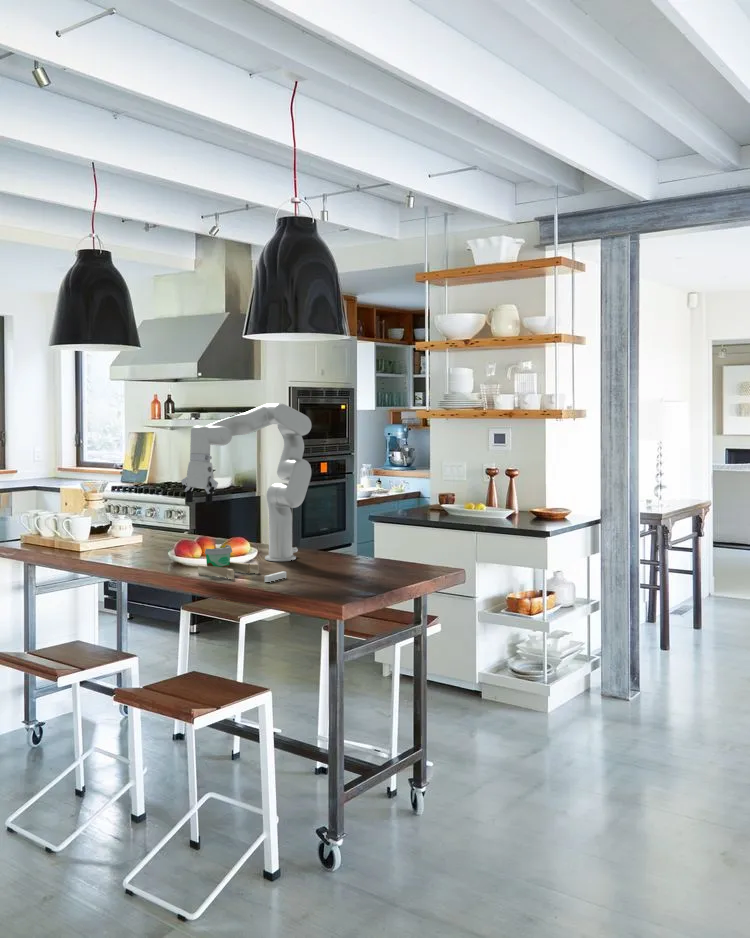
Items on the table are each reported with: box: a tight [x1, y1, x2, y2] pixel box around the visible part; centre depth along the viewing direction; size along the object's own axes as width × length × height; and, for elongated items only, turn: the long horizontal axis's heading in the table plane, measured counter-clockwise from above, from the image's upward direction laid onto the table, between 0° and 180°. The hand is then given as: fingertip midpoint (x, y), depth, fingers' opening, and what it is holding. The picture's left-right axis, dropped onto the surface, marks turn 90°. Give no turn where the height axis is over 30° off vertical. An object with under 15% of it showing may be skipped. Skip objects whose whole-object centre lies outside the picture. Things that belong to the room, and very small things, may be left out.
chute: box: [197, 561, 260, 580], centre depth 340 cm, size 17×18×4 cm
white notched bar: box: [264, 571, 287, 583], centre depth 329 cm, size 11×2×2 cm, turn 149°
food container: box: [204, 544, 233, 568], centre depth 341 cm, size 12×6×10 cm, turn 149°
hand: (198, 503), depth 347 cm, fingers open, 9 cm apart
